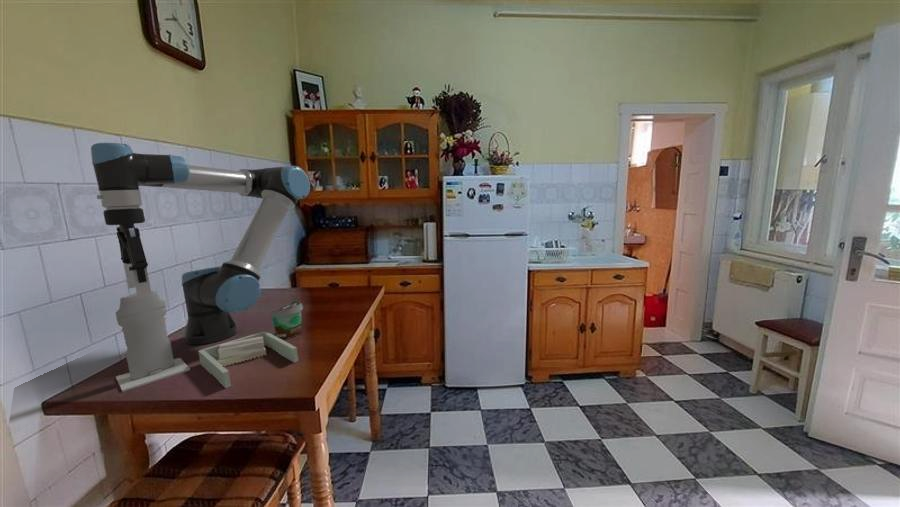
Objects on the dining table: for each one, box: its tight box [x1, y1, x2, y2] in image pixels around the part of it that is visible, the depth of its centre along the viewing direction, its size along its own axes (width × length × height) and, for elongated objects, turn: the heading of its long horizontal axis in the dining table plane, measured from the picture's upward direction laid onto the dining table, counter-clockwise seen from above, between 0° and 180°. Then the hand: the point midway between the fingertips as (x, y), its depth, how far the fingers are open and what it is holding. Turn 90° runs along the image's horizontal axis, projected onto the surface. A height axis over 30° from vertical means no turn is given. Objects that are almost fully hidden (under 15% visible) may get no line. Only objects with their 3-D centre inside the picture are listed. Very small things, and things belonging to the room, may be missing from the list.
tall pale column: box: [115, 290, 174, 380], centre depth 97 cm, size 11×4×22 cm, turn 150°
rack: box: [198, 330, 299, 389], centre depth 103 cm, size 21×18×4 cm
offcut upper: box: [218, 336, 265, 359], centre depth 107 cm, size 5×11×2 cm, turn 117°
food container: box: [270, 299, 304, 340], centre depth 123 cm, size 12×6×10 cm, turn 168°
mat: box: [115, 357, 191, 393], centre depth 99 cm, size 11×14×1 cm
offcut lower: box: [215, 346, 267, 367], centre depth 107 cm, size 6×12×2 cm, turn 127°
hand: (139, 291), depth 96 cm, fingers open, 13 cm apart
